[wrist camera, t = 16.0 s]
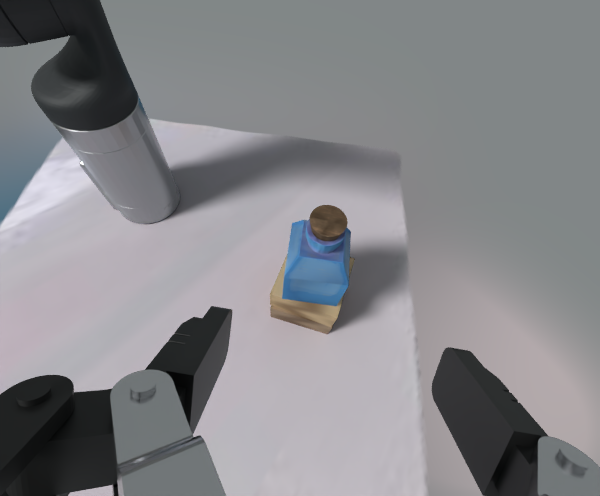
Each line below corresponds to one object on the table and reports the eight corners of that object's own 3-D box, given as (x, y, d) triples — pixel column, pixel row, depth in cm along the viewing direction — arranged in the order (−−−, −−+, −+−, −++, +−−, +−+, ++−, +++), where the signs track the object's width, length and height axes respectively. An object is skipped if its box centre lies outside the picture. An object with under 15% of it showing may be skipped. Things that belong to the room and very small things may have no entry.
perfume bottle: (282, 298, 33) (286, 247, 23) (289, 251, 36) (296, 186, 26) (336, 306, 33) (365, 258, 23) (339, 258, 36) (365, 196, 26)
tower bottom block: (270, 317, 40) (270, 308, 37) (287, 266, 44) (289, 254, 41) (327, 334, 40) (332, 327, 36) (339, 282, 44) (345, 270, 40)
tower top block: (270, 304, 37) (270, 293, 34) (292, 252, 41) (294, 237, 37) (330, 327, 36) (337, 318, 33) (347, 271, 40) (354, 258, 37)
